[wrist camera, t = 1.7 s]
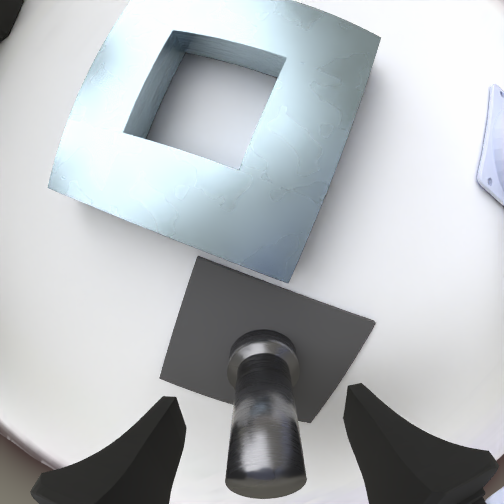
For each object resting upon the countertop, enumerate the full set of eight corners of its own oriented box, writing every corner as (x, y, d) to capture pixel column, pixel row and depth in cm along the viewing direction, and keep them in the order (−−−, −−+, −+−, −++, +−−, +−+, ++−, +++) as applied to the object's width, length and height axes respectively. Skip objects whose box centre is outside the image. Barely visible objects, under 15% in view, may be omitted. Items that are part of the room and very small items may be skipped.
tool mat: (373, 320, 14) (375, 323, 14) (309, 419, 16) (310, 423, 16) (198, 255, 14) (197, 257, 13) (160, 375, 15) (159, 378, 15)
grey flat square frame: (363, 57, 11) (381, 37, 9) (282, 266, 14) (288, 283, 11) (160, 1, 10) (147, -21, 8) (75, 186, 13) (47, 187, 10)
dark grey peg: (307, 341, 14) (343, 462, 6) (279, 389, 15) (290, 507, 7) (243, 319, 14) (230, 444, 6) (220, 371, 15) (198, 492, 7)
